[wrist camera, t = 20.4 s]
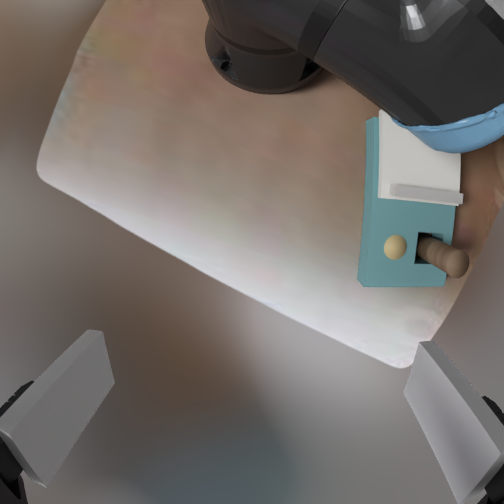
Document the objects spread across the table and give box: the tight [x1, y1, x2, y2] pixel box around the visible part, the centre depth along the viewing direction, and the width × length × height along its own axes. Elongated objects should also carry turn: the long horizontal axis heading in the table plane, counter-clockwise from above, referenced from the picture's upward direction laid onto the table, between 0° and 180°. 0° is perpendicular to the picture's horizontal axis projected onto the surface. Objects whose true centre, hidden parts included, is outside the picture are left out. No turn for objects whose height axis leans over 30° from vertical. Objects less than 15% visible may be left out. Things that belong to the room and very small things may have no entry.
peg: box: [415, 233, 469, 278], centre depth 31 cm, size 3×3×10 cm
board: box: [357, 117, 455, 287], centre depth 34 cm, size 20×12×3 cm, turn 179°
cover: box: [378, 109, 463, 206], centre depth 29 cm, size 10×11×3 cm
